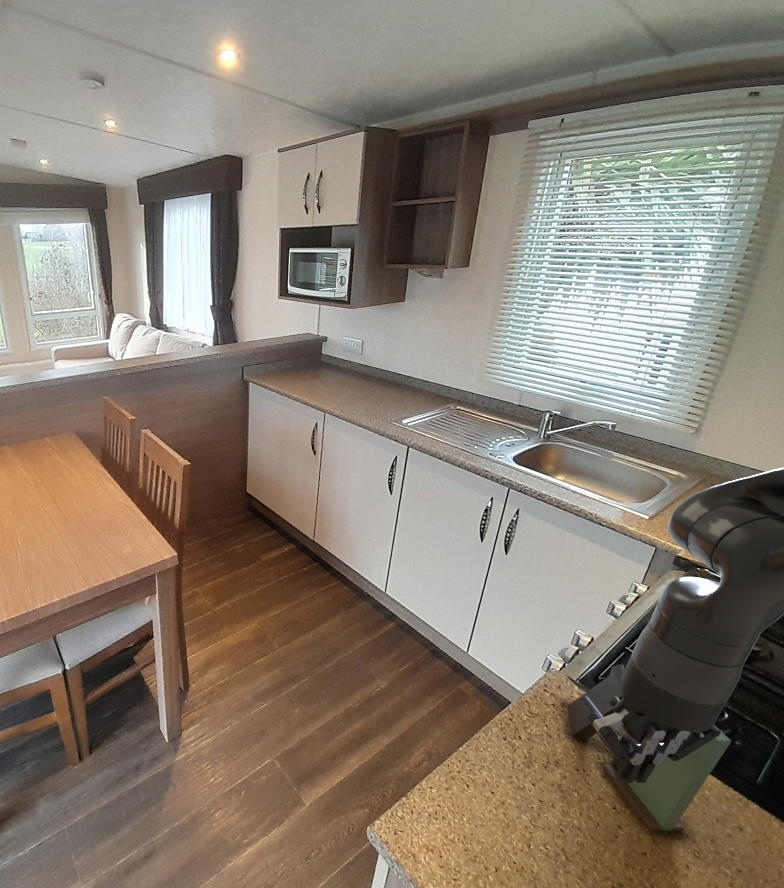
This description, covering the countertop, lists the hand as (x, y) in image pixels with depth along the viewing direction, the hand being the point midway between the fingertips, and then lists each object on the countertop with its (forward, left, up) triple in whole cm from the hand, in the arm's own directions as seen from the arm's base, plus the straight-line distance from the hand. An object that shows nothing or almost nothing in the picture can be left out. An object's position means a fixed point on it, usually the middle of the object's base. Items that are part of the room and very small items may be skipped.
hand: (627, 775), depth 57 cm
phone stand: (-8, -14, -12) cm, 20 cm away
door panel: (-4, -4, -11) cm, 13 cm away
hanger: (+1, -4, +3) cm, 5 cm away
